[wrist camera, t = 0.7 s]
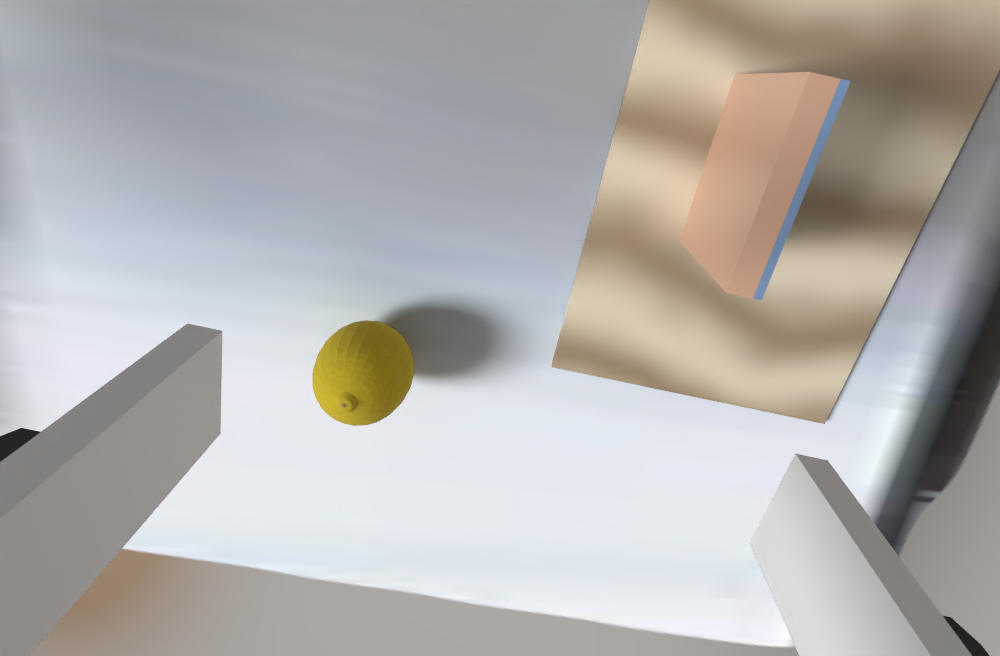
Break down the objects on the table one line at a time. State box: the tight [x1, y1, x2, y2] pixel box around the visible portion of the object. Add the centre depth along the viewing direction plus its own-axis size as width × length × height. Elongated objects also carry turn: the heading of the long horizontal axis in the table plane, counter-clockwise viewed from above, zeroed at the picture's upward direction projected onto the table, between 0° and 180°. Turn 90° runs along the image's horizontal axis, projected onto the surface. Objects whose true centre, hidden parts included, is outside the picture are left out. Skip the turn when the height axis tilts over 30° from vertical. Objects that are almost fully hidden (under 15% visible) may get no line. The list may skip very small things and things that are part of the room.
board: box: [552, 0, 1000, 424], centre depth 33 cm, size 28×18×1 cm, turn 168°
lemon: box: [313, 321, 414, 425], centre depth 34 cm, size 6×6×8 cm
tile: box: [679, 72, 851, 300], centre depth 28 cm, size 9×2×9 cm, turn 168°
